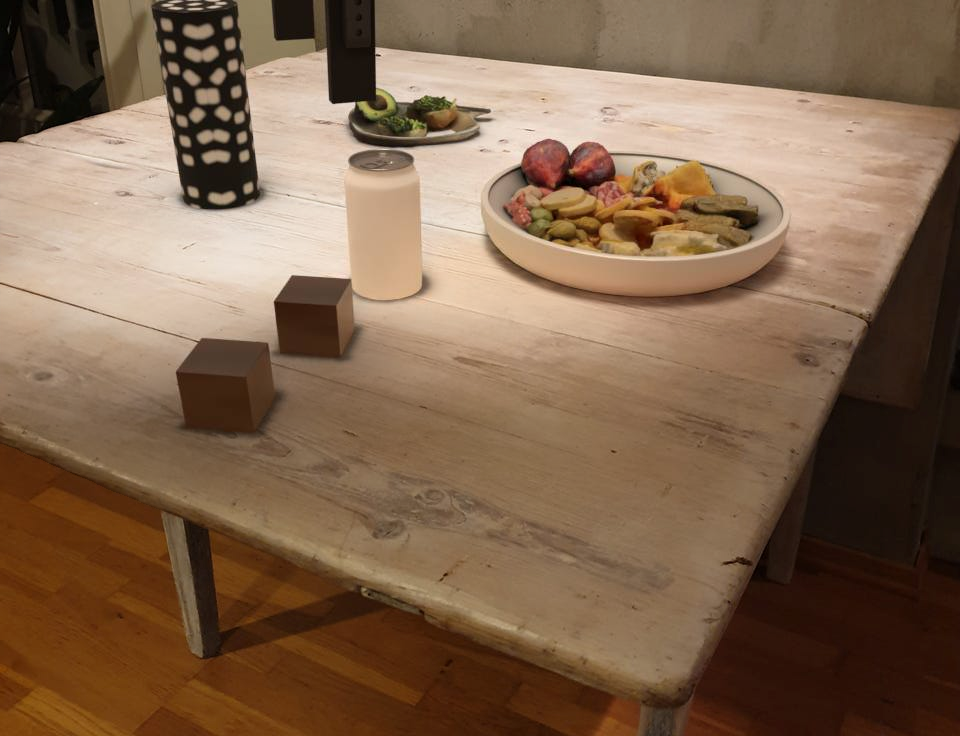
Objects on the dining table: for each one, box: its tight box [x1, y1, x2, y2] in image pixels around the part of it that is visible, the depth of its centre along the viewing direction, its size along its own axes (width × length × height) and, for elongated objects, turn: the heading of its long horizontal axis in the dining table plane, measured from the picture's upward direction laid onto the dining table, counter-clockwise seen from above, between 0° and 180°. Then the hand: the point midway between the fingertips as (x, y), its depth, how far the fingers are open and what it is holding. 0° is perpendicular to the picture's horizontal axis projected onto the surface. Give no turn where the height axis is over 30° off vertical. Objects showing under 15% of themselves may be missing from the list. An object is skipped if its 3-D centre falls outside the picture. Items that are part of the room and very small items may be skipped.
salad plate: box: [348, 87, 492, 147], centre depth 129 cm, size 19×18×5 cm
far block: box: [273, 274, 356, 359], centre depth 78 cm, size 5×5×5 cm
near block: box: [175, 337, 276, 434], centre depth 69 cm, size 5×5×5 cm
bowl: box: [480, 138, 792, 298], centre depth 96 cm, size 30×30×8 cm
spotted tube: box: [150, 0, 261, 211], centre depth 102 cm, size 8×8×20 cm
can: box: [344, 148, 423, 301], centre depth 85 cm, size 6×6×12 cm
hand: (321, 67), depth 63 cm, fingers open, 13 cm apart
